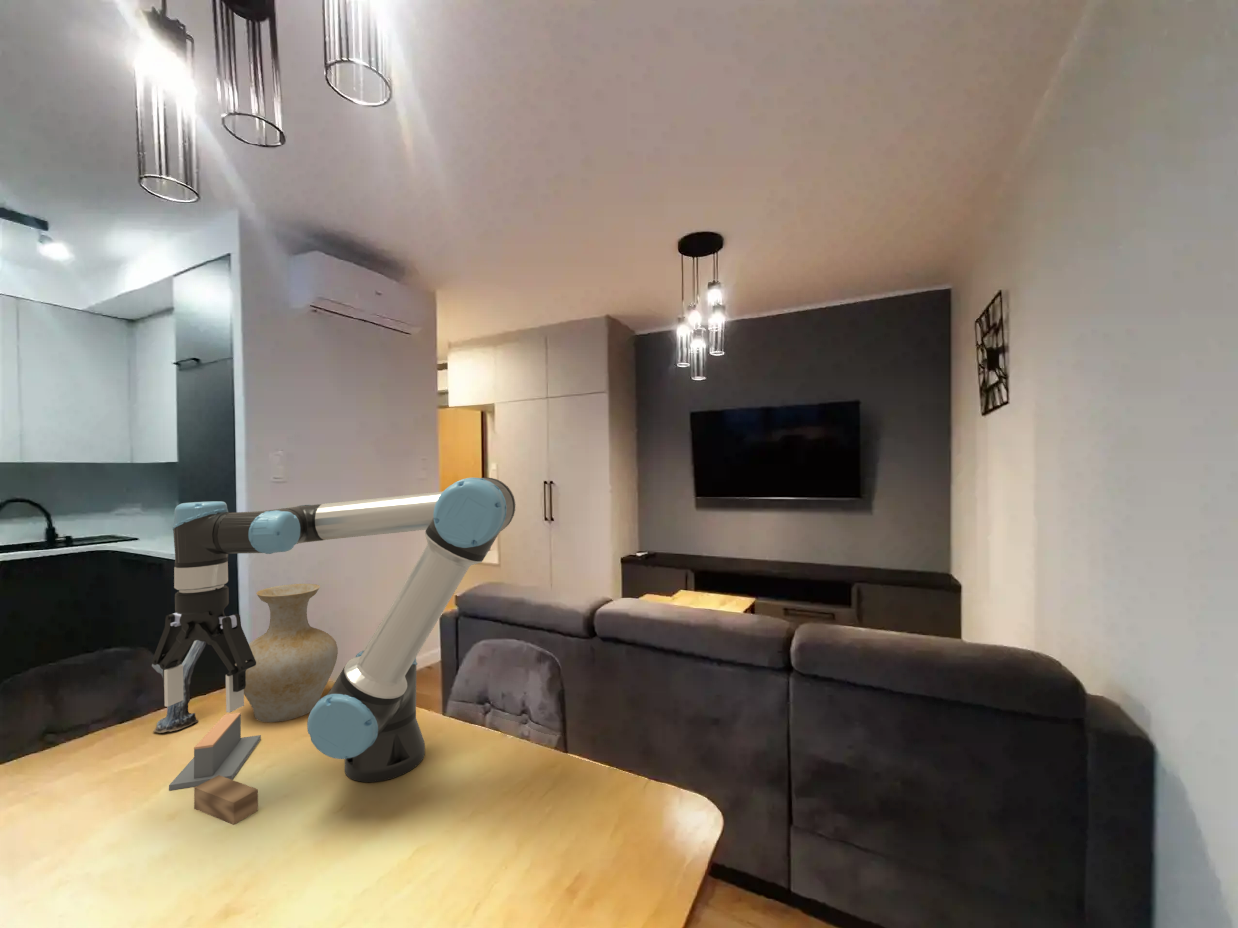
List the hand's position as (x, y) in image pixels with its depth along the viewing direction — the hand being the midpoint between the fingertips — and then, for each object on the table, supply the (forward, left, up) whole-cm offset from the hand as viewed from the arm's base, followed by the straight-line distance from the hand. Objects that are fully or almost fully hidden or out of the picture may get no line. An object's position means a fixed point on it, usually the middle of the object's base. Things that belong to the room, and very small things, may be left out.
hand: (204, 706), depth 93 cm
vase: (+10, -37, -18) cm, 43 cm away
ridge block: (+8, -13, -18) cm, 24 cm away
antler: (+30, -29, -18) cm, 46 cm away
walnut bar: (-5, +1, -18) cm, 19 cm away
